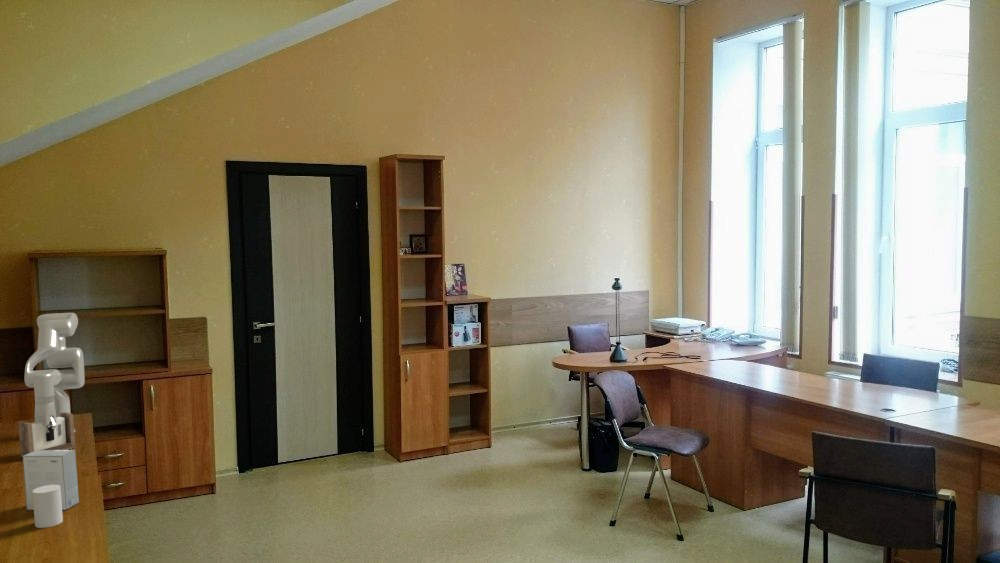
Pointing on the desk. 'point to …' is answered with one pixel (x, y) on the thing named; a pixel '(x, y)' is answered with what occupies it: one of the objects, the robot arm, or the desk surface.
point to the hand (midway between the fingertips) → (47, 439)
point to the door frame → (27, 447)
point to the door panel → (40, 435)
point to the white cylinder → (47, 506)
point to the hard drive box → (51, 474)
